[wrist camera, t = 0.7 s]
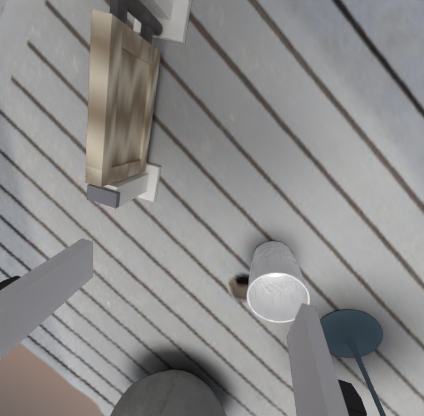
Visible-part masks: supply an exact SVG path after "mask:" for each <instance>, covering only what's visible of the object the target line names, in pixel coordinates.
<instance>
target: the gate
mask: <svg viewBox="0 0 424 416" xmlns="http://www.w3.org/2000/svg"><path fill="white" fill-rule="evenodd" d="M127 11H128V12H129V13H130V14H131V15H132V16H134V17H135V18H136V19H137V20H138V21H139V22H140V23H141V31H140V35H138V34H137V33H136V32H135V31H133V30H132V29H131V28H129V27H128V26H127V25H126V21H127ZM162 30H163V27H162V24H161V23H160V22H159V21H158V20H157V19H156V17H155V16H154V15H153V14H152V13H151V12H150V11H149V10H148V9H147V8H146V7H145V5H144V4H143V3H142V2H141V1H140V0H111V1H110V13H106V12H102V11H97V10H93V9H92V19H91V45H90V72H89V99H88V126H87V153H86V180H85V183H89V184H92V185H95V186H98V187H103V186H106V185H109V184H111V183H114V182H117V181H119V180H122V179H125V178H127V177H130V176H133V175H136V174H138V173H141V172H144V171H145V168H146V161H147V153H148V146H149V138H150V131H151V123H152V116H153V109H154V101H155V94H156V86H157V79H158V71H159V64H160V56H161V52H160V51H159V50H157V49H156V48H155V47H154V46H152V38H153V34H154V35H155V36H159V35H160V34H161V33H162Z"/></svg>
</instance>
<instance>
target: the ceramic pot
mask: <svg viewBox="0 0 424 416" xmlns="http://www.w3.org/2000/svg"><path fill="white" fill-rule="evenodd" d="M110 416H226V414H225V412H224V410H223V408H222V406H221V404H220V402H219V400H218V399H217V397H216V396H215V394H214V393H213V391H212V390H211V389H210V388H209V387H208V385H206V384H205V383H204V382H203V381H202V380H201V379H199V378H198V377H196V376H195V375H193V374H192V373H189V372H186V371H183V370H167V371H162V372H159V373H155V374H152V375H149V376H147V377H145V378H143V379H140V380H138V381H137V382H135V383H134V384H132V385H131V386H130V387H129V388H128V389H127V390H126V392H125V393H124V394H123V395H122V397H121V398H120V400H119V401H118V403H117V404H116V406H115V408H114V410H113V411H112V413H111V415H110Z"/></svg>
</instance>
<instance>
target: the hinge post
mask: <svg viewBox="0 0 424 416" xmlns="http://www.w3.org/2000/svg"><path fill="white" fill-rule="evenodd" d="M140 1H141V2H142V3H143V4H144V5H145V7H146V8H147V9H148V10H149V11H150V12H151V13H152V14H153V15H154V16H155V17H156V19H157V20H158V21H159V22H160V23H161V24H162V27H163V30H162V33H161V34H160V35H159V36H155V35H154V34H153V37H154V38H158V39H162V40H167V41H171V42H175V43H180V44H184V45H185V39H186V33H187V27H188V21H189V15H190V9H191V3H192V0H140ZM133 31H135V32H136V33H137V34H140V31H141V23H140V22H139V21H138V20H137V19H136V18H135V20H134V30H133Z"/></svg>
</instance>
